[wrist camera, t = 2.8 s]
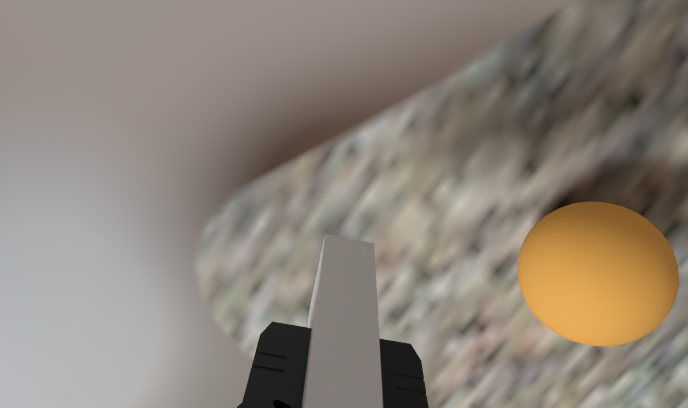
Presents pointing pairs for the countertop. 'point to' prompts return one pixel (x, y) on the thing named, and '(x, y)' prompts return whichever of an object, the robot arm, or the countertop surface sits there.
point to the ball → (598, 273)
